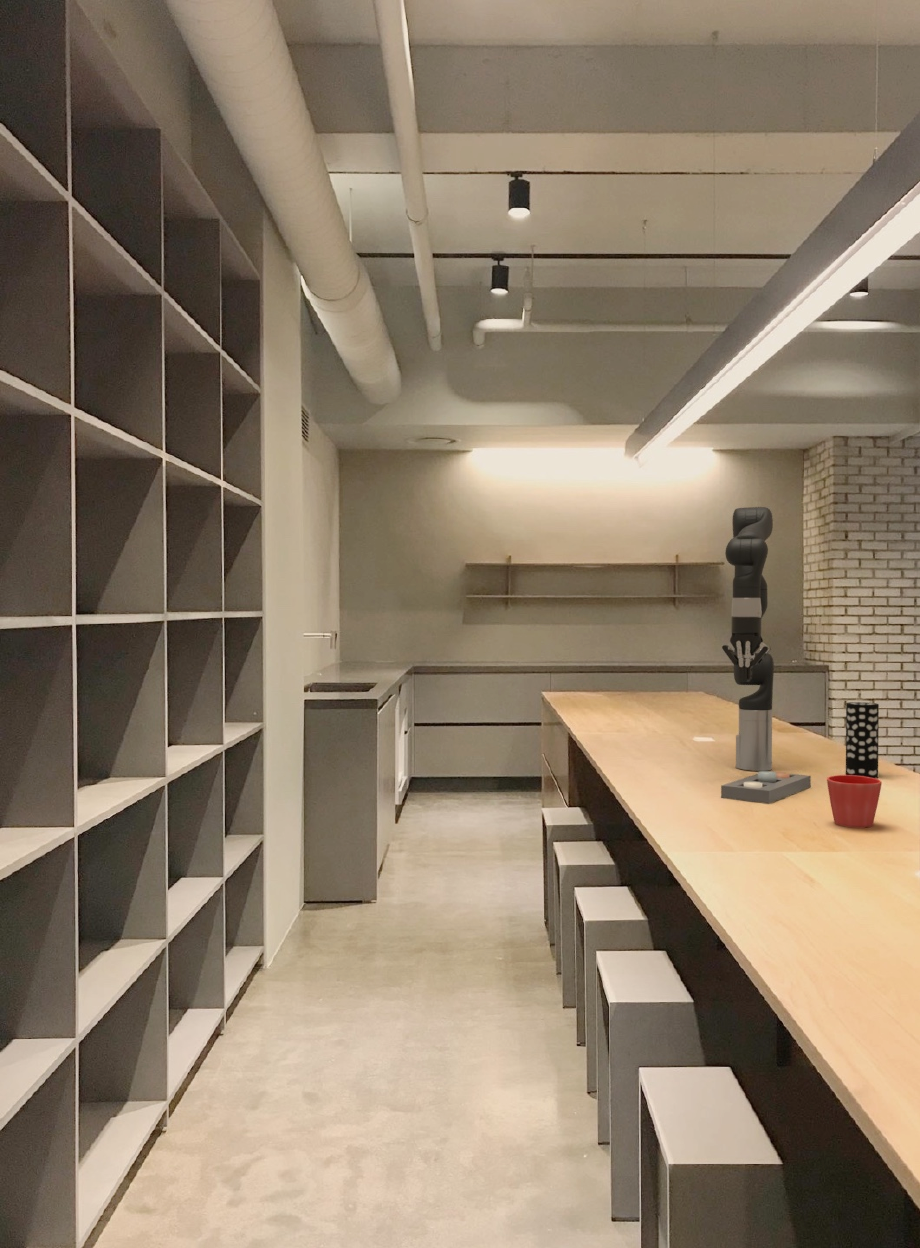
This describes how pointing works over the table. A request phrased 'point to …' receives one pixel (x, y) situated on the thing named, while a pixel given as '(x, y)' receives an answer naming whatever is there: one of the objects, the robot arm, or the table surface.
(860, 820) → the flower pot
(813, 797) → the table surface
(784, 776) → the terracotta button
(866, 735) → the white-spotted black cylinder
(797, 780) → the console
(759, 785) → the offwhite button
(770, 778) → the slate button
